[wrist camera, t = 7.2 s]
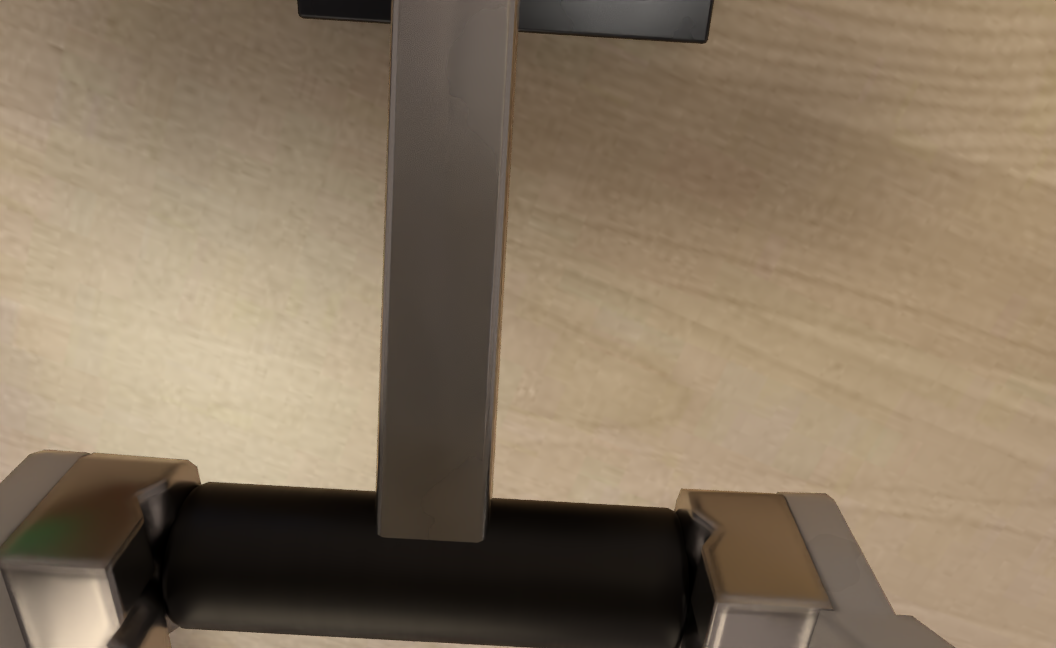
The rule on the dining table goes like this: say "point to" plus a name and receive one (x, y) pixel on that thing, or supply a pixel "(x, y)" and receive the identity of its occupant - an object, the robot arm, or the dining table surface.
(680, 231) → the dining table surface
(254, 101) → the dining table surface
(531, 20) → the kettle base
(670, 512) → the switch lever
